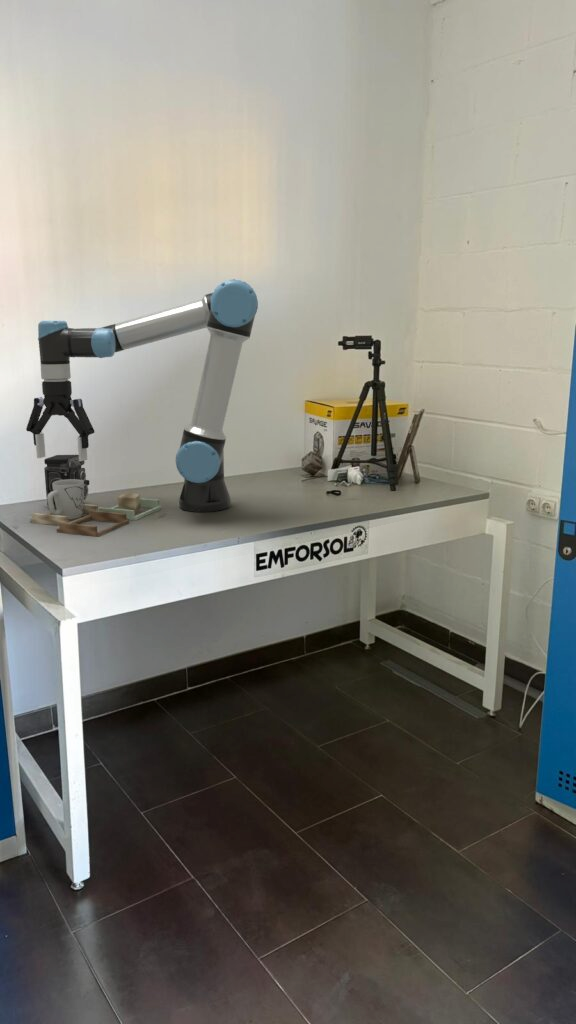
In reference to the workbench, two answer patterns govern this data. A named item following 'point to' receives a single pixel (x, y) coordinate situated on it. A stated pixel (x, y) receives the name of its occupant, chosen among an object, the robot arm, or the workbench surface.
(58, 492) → the mug
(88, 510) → the birch rim
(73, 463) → the camera
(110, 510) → the sage rim
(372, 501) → the workbench surface
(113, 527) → the walnut rim
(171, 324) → the robot arm
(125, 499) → the birch cube
